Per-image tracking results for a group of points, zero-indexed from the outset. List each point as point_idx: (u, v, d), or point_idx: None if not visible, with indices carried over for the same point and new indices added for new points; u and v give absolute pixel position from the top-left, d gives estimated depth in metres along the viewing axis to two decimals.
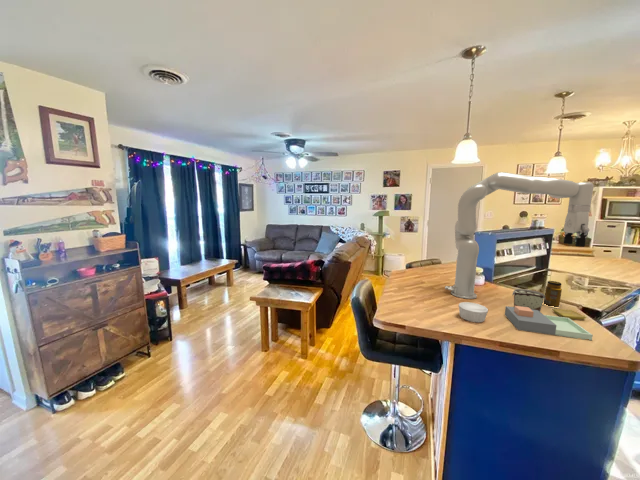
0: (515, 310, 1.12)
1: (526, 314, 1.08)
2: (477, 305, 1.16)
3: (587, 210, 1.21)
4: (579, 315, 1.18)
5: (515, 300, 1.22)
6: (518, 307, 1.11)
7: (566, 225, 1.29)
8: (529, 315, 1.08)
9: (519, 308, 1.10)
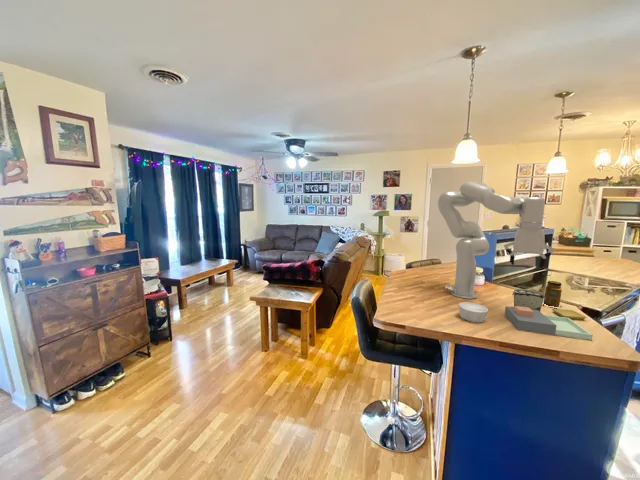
0: (515, 310, 1.12)
1: (526, 314, 1.08)
2: (477, 305, 1.16)
3: None
4: (579, 315, 1.18)
5: (515, 300, 1.22)
6: (518, 307, 1.11)
7: (522, 245, 1.13)
8: (529, 315, 1.08)
9: (519, 308, 1.10)
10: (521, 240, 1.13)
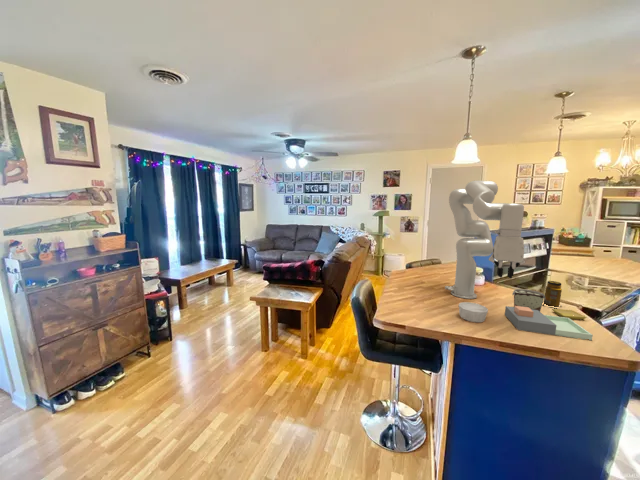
0: (515, 310, 1.12)
1: (526, 314, 1.08)
2: (477, 305, 1.16)
3: None
4: (579, 315, 1.18)
5: (515, 300, 1.22)
6: (518, 307, 1.11)
7: (503, 253, 1.08)
8: (529, 315, 1.08)
9: (519, 308, 1.10)
10: (502, 248, 1.08)
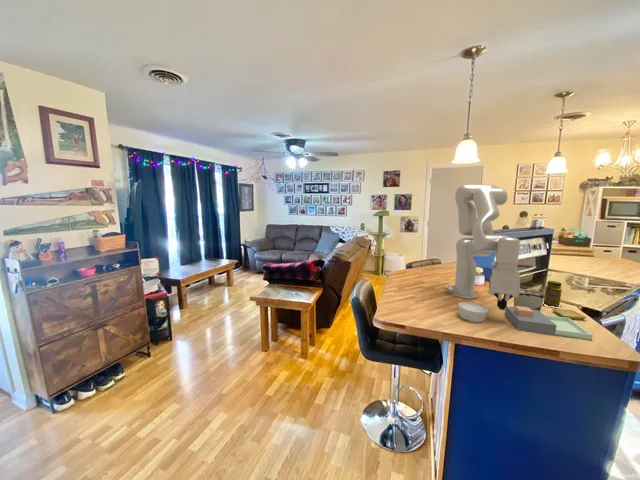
0: (515, 310, 1.12)
1: (526, 314, 1.08)
2: (477, 305, 1.16)
3: None
4: (579, 315, 1.18)
5: (515, 300, 1.22)
6: (518, 307, 1.11)
7: (499, 286, 1.10)
8: (529, 315, 1.08)
9: (519, 308, 1.10)
10: (498, 281, 1.10)
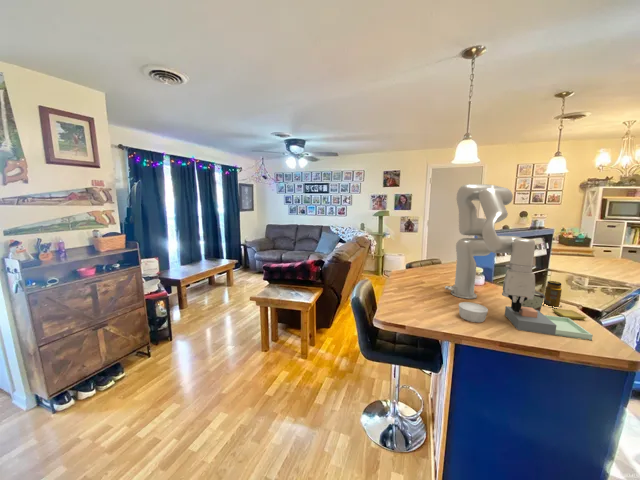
0: (519, 310, 1.12)
1: (530, 314, 1.08)
2: (477, 305, 1.16)
3: None
4: (579, 315, 1.18)
5: None
6: (522, 307, 1.11)
7: (514, 288, 1.08)
8: (533, 315, 1.07)
9: (523, 308, 1.10)
10: (513, 283, 1.08)
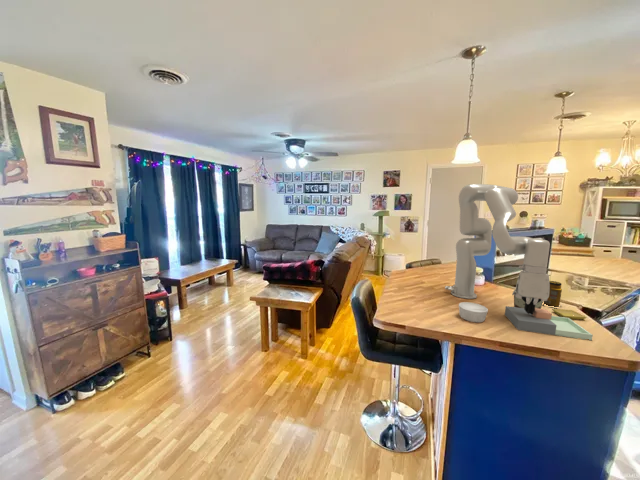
0: None
1: (544, 316, 1.06)
2: (477, 305, 1.16)
3: None
4: (579, 315, 1.18)
5: (515, 300, 1.22)
6: (535, 309, 1.10)
7: (528, 289, 1.07)
8: (547, 317, 1.06)
9: (537, 310, 1.08)
10: (527, 284, 1.07)
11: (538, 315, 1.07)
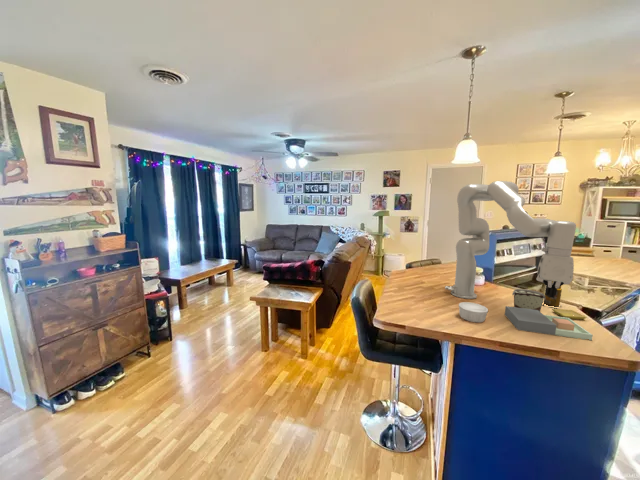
0: None
1: (565, 325, 1.04)
2: (477, 305, 1.16)
3: None
4: (579, 315, 1.18)
5: (515, 300, 1.22)
6: None
7: (551, 272, 1.04)
8: (562, 324, 1.05)
9: None
10: (550, 267, 1.04)
11: (572, 327, 1.04)
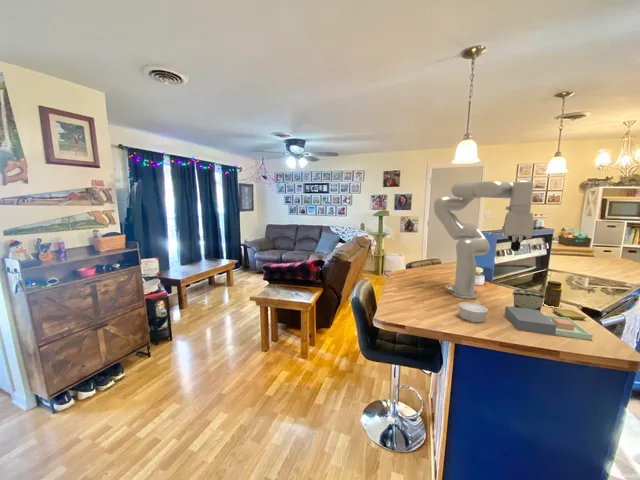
0: None
1: (565, 325, 1.04)
2: (477, 305, 1.16)
3: None
4: (579, 315, 1.18)
5: (515, 300, 1.22)
6: None
7: (513, 227, 1.15)
8: (562, 324, 1.05)
9: None
10: (512, 223, 1.15)
11: (572, 327, 1.04)
